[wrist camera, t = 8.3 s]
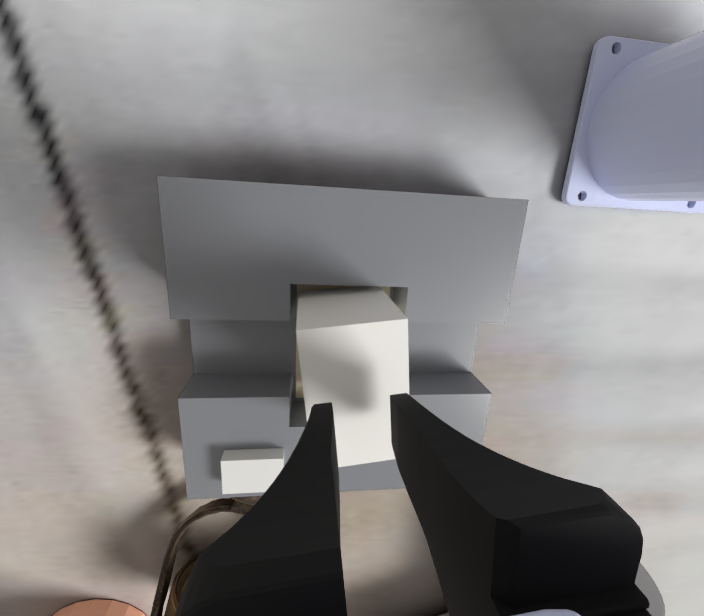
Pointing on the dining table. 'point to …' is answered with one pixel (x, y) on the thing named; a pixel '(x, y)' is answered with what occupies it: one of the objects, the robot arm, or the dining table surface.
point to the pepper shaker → (99, 609)
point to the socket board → (318, 274)
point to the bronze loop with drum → (181, 578)
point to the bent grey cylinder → (647, 588)
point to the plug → (354, 365)
